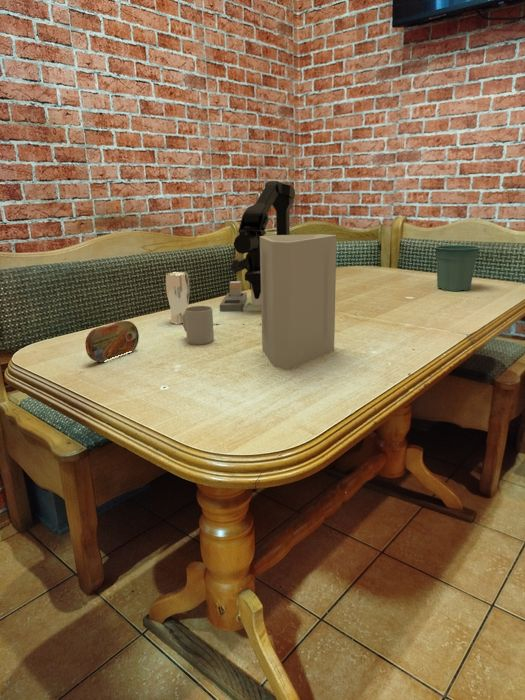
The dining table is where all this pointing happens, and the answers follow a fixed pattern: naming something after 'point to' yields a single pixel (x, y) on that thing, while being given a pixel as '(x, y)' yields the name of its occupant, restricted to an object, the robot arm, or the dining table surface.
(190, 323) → the cup
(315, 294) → the taupe rounded pillar
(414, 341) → the dining table surface
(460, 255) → the flower pot
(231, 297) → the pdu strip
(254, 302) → the plug
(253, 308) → the tray
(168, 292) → the beer glass
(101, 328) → the tin
